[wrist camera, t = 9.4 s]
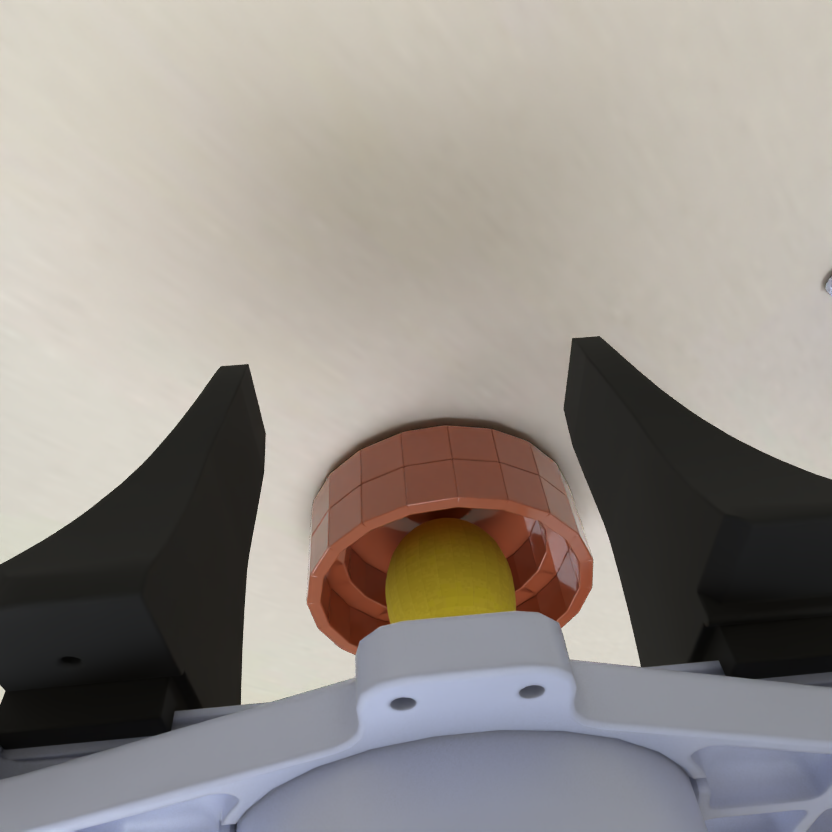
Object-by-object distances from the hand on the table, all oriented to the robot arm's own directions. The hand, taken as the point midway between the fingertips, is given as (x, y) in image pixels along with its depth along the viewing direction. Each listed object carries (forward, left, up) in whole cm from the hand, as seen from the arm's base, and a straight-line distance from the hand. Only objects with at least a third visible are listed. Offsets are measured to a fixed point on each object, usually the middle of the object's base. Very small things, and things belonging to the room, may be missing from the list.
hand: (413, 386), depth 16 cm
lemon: (-9, +13, -10) cm, 19 cm away
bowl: (-9, +13, -10) cm, 19 cm away
